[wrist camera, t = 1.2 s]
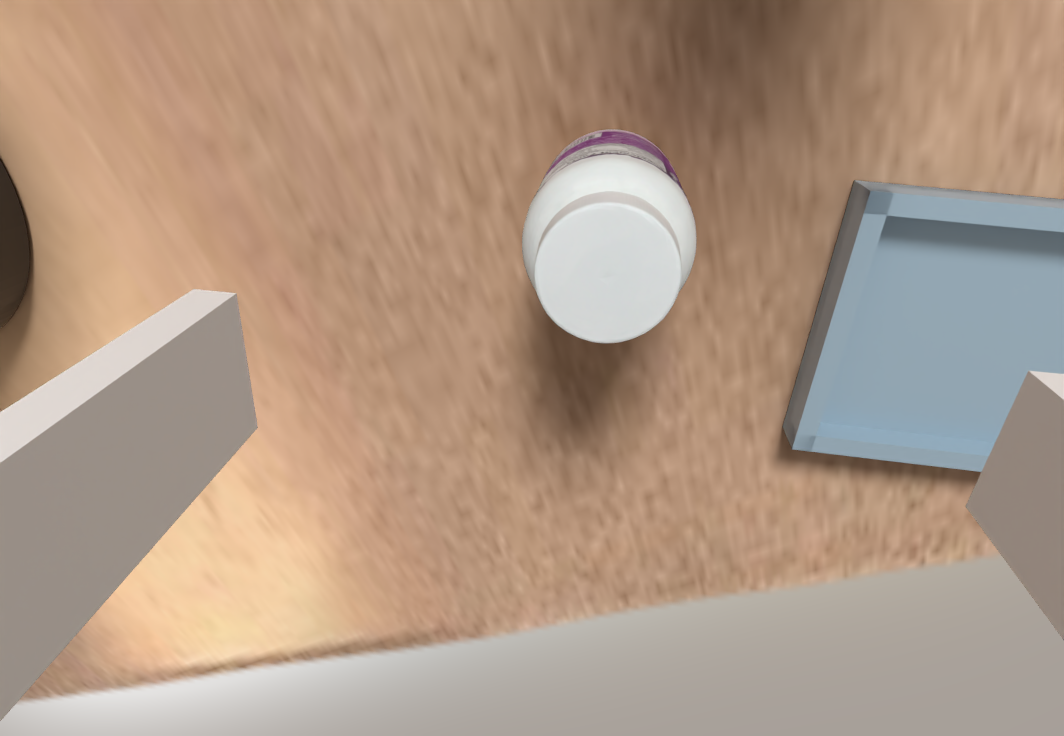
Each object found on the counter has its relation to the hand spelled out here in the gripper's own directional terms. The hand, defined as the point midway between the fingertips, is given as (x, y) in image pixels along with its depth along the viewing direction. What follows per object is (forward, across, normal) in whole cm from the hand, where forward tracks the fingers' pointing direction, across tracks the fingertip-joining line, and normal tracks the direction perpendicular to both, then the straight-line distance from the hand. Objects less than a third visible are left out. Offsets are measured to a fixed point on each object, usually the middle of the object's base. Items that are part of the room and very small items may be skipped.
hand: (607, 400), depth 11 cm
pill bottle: (+17, 0, 0) cm, 17 cm away
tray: (+16, +16, -4) cm, 23 cm away
